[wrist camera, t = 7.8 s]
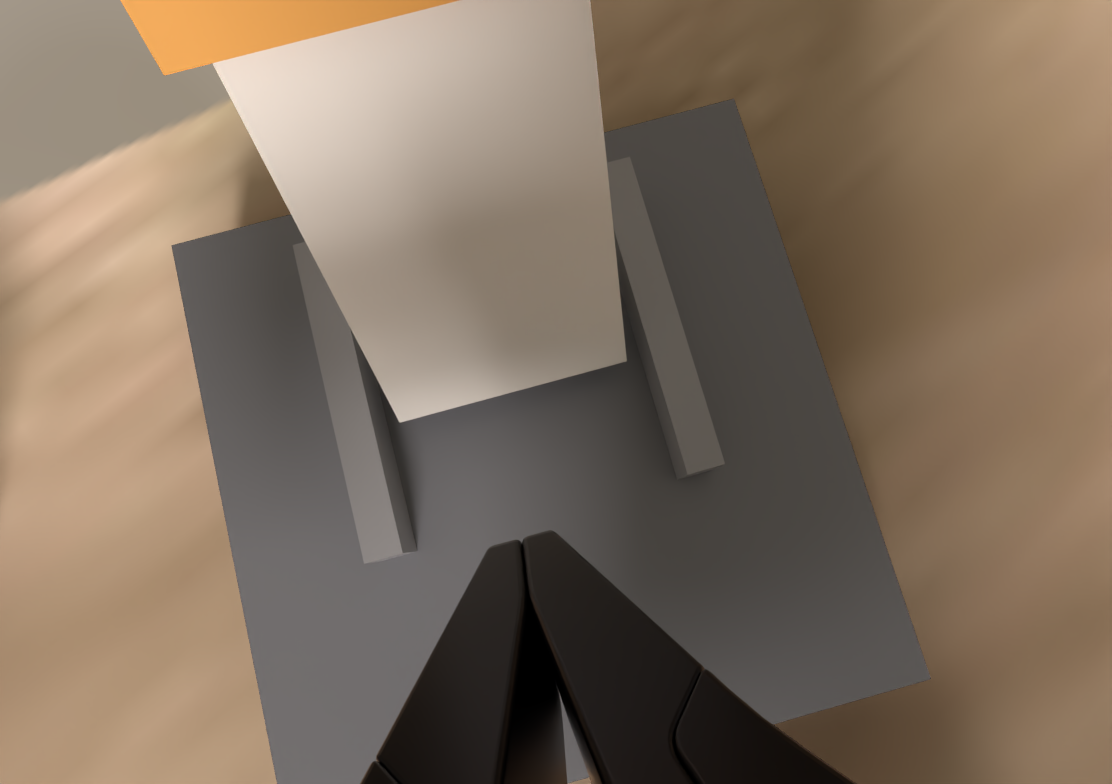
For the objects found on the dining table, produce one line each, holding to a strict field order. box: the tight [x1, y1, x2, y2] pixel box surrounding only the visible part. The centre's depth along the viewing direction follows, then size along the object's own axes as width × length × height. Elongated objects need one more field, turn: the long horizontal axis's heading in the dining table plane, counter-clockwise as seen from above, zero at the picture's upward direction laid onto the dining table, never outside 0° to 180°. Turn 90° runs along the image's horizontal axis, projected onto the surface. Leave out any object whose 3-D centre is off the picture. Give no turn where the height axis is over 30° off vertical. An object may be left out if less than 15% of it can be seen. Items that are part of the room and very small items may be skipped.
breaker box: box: [172, 99, 931, 784], centre depth 19 cm, size 14×14×5 cm
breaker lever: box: [120, 0, 627, 423], centre depth 13 cm, size 3×6×10 cm, turn 105°
